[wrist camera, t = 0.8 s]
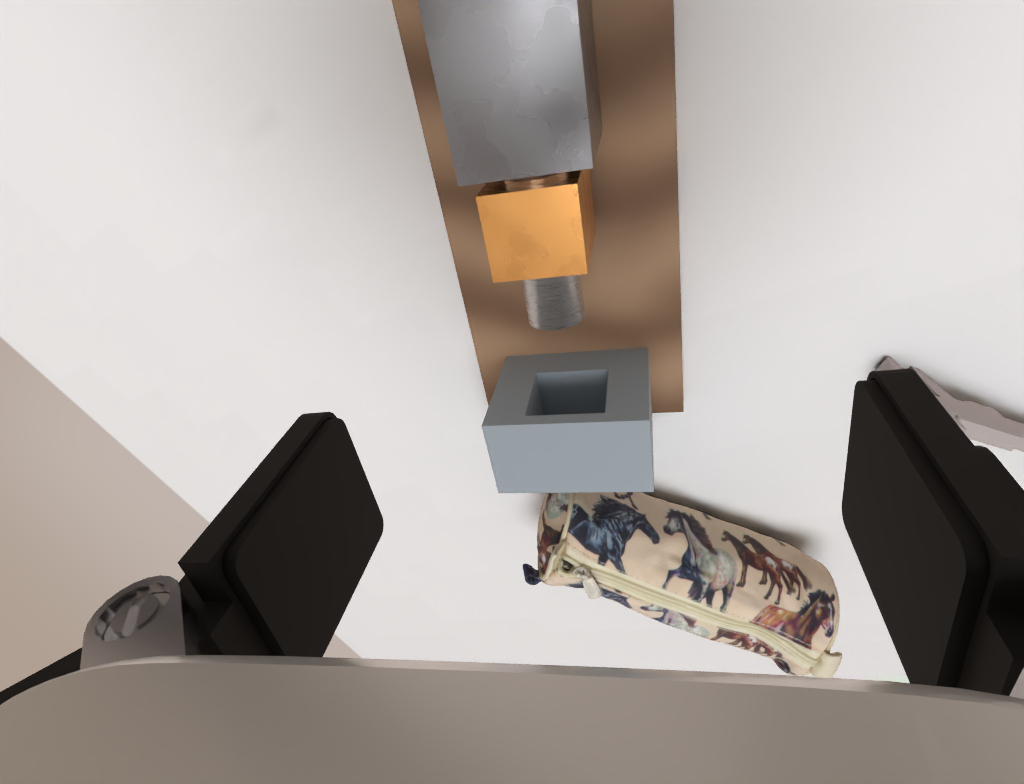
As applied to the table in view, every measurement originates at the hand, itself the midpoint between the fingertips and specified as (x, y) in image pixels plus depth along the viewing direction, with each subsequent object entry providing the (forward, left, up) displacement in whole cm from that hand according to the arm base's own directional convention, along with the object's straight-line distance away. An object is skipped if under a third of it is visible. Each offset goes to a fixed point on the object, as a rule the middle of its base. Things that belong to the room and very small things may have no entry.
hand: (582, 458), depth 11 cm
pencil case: (+29, +2, -26) cm, 39 cm away
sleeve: (-7, -4, -24) cm, 25 cm away
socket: (+14, -4, -24) cm, 28 cm away
